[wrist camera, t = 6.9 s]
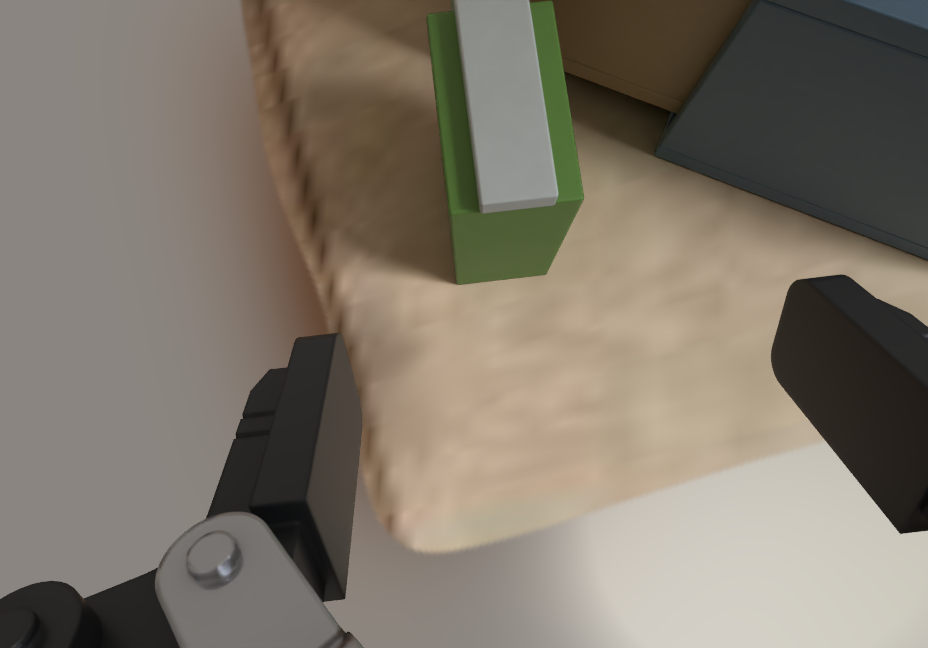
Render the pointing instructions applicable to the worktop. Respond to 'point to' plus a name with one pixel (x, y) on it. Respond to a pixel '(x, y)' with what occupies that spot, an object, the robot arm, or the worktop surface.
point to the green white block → (504, 136)
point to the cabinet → (819, 114)
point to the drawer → (644, 43)
